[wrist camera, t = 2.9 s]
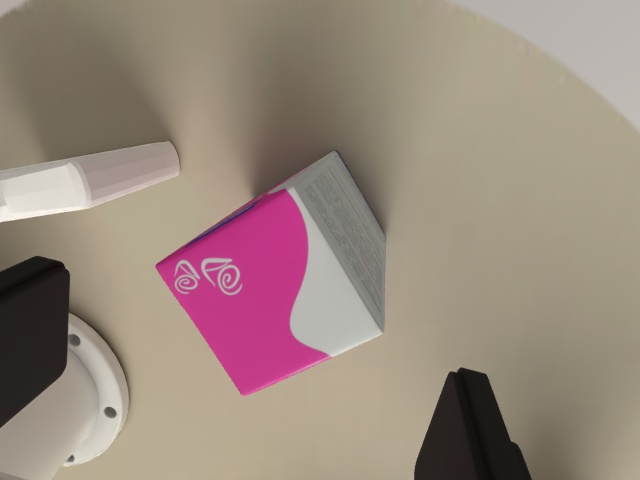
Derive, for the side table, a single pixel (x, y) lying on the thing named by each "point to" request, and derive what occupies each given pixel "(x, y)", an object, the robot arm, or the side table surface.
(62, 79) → the side table surface
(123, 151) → the perfume bottle
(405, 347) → the side table surface
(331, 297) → the supplement box
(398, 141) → the side table surface
